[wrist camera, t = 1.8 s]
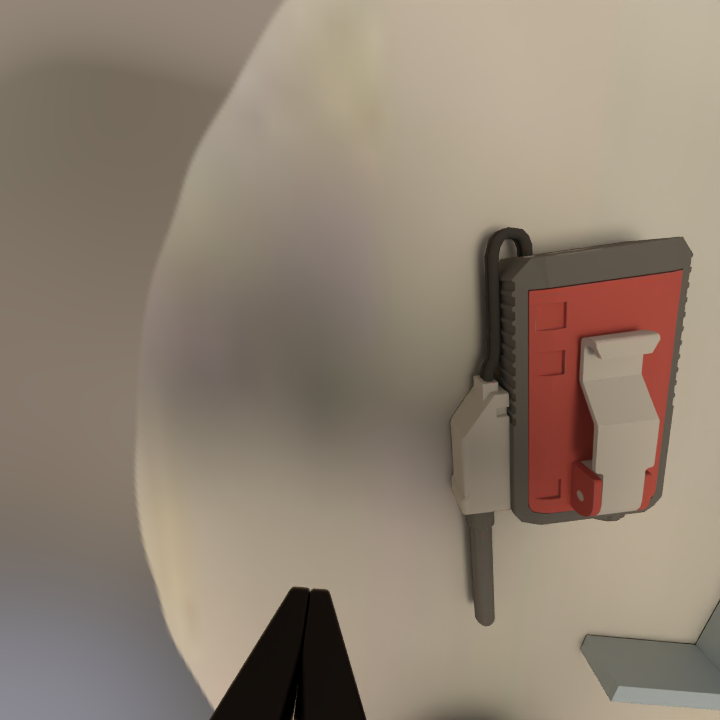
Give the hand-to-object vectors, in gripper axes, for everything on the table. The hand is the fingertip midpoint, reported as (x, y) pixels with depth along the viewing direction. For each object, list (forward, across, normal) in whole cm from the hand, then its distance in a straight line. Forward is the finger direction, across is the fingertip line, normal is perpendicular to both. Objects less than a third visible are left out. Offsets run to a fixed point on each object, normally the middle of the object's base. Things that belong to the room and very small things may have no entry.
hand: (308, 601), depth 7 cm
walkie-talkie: (+9, -10, 0) cm, 14 cm away
